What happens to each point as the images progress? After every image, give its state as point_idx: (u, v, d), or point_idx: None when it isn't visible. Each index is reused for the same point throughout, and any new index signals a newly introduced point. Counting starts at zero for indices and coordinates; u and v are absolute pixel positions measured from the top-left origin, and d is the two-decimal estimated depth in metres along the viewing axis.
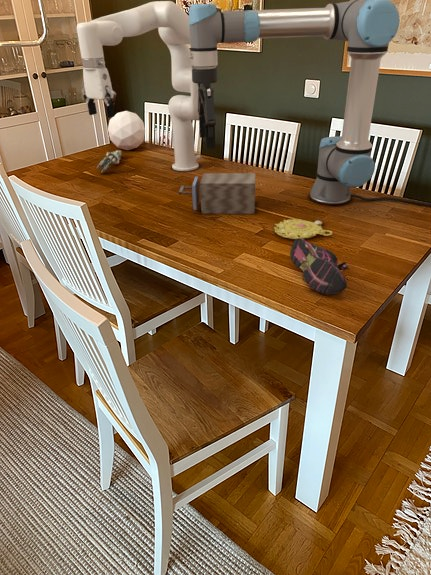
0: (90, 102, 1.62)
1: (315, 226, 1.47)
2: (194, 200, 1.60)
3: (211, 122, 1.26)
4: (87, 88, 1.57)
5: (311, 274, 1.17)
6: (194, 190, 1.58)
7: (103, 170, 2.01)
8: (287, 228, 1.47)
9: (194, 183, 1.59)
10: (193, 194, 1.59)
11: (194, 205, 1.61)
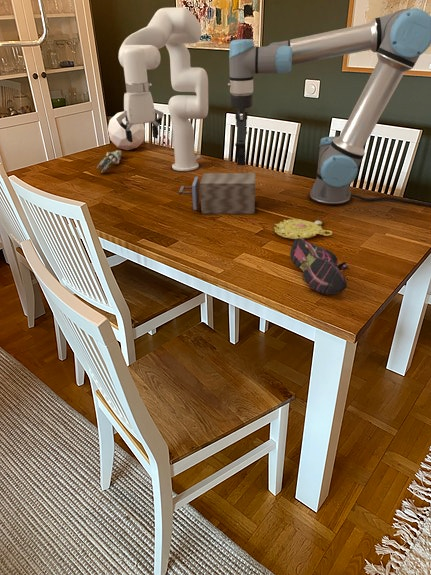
0: None
1: (315, 226, 1.47)
2: (194, 200, 1.60)
3: (241, 143, 1.42)
4: (134, 114, 1.52)
5: (311, 274, 1.17)
6: (194, 190, 1.58)
7: (103, 170, 2.01)
8: (287, 228, 1.47)
9: (194, 183, 1.59)
10: (193, 194, 1.59)
11: (194, 205, 1.61)
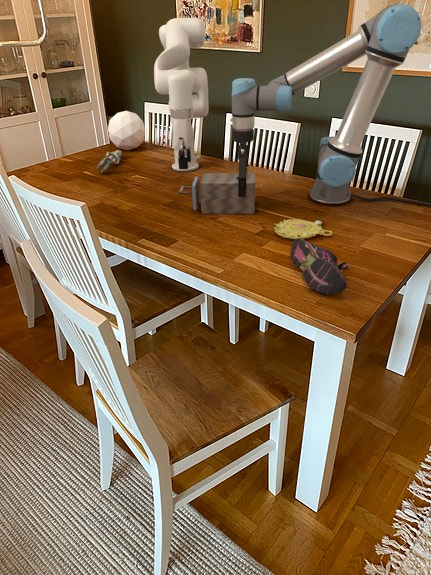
0: None
1: (315, 226, 1.47)
2: (194, 200, 1.60)
3: (242, 177, 1.50)
4: (188, 139, 1.51)
5: (311, 274, 1.17)
6: (194, 190, 1.58)
7: (103, 170, 2.01)
8: (287, 228, 1.47)
9: (194, 183, 1.59)
10: (193, 194, 1.59)
11: (194, 205, 1.61)
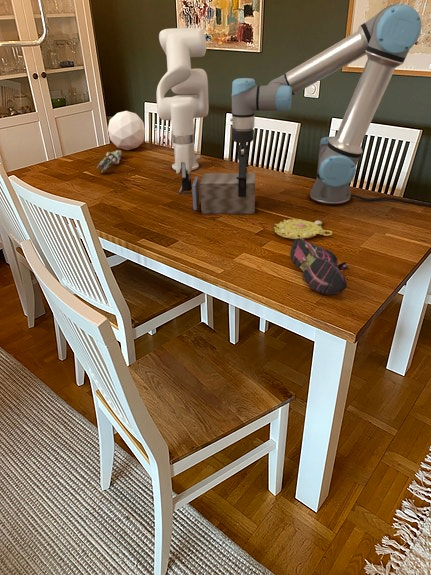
0: None
1: (315, 226, 1.47)
2: (194, 200, 1.60)
3: (242, 177, 1.50)
4: (190, 163, 1.55)
5: (311, 274, 1.17)
6: (194, 190, 1.58)
7: (103, 170, 2.01)
8: (287, 228, 1.47)
9: (194, 183, 1.59)
10: (193, 194, 1.59)
11: (194, 205, 1.61)
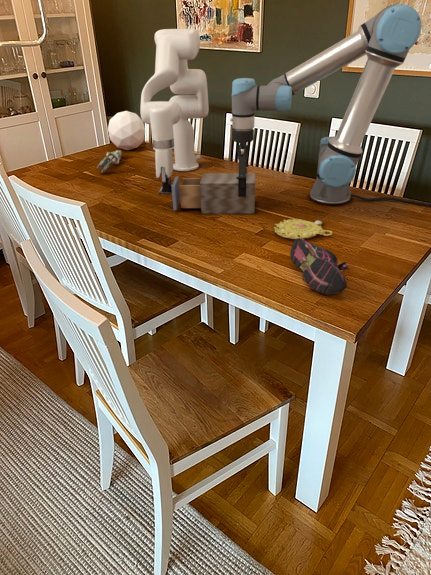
0: None
1: (315, 226, 1.47)
2: (174, 200, 1.61)
3: (241, 177, 1.50)
4: (170, 167, 1.57)
5: (311, 274, 1.17)
6: (174, 190, 1.59)
7: (103, 170, 2.01)
8: (287, 228, 1.47)
9: (174, 183, 1.60)
10: (173, 194, 1.60)
11: (174, 205, 1.62)
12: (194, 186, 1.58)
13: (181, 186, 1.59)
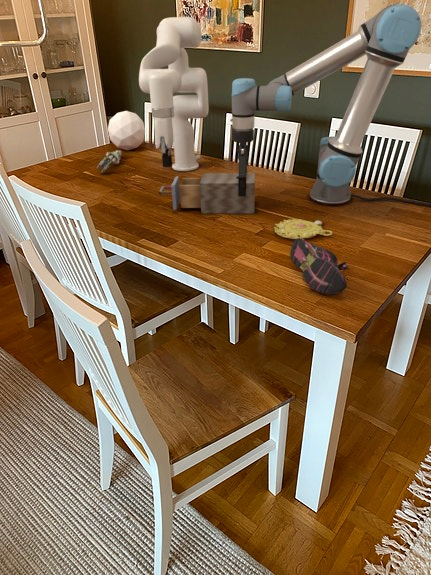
0: None
1: (315, 226, 1.47)
2: (174, 200, 1.61)
3: (242, 176, 1.49)
4: (170, 138, 1.51)
5: (311, 274, 1.17)
6: (174, 190, 1.59)
7: (103, 170, 2.01)
8: (287, 228, 1.47)
9: (174, 183, 1.60)
10: (173, 194, 1.60)
11: (174, 205, 1.62)
12: (194, 186, 1.58)
13: (181, 186, 1.59)
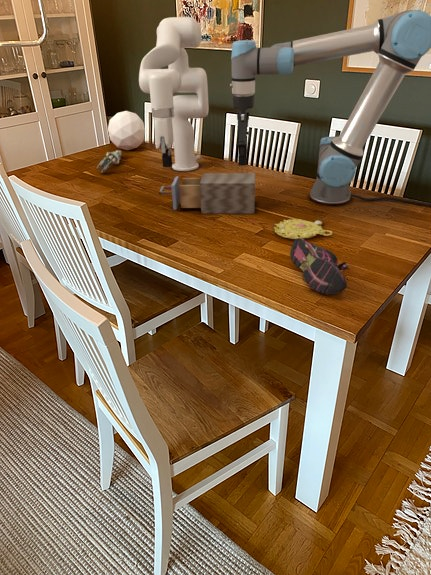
0: None
1: (315, 226, 1.47)
2: (174, 200, 1.61)
3: (242, 143, 1.43)
4: (170, 138, 1.51)
5: (311, 274, 1.17)
6: (174, 190, 1.59)
7: (103, 170, 2.01)
8: (287, 228, 1.47)
9: (174, 183, 1.60)
10: (173, 194, 1.60)
11: (174, 205, 1.62)
12: (194, 186, 1.58)
13: (181, 186, 1.59)
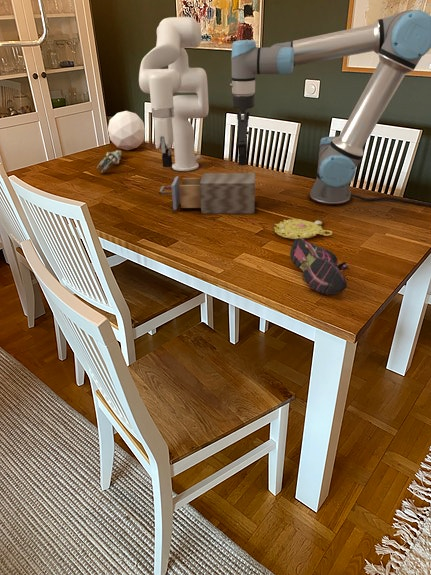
0: None
1: (315, 226, 1.47)
2: (174, 200, 1.61)
3: (242, 143, 1.43)
4: (170, 138, 1.51)
5: (311, 274, 1.17)
6: (174, 190, 1.59)
7: (103, 170, 2.01)
8: (287, 228, 1.47)
9: (174, 183, 1.60)
10: (173, 194, 1.60)
11: (174, 205, 1.62)
12: (194, 186, 1.58)
13: (181, 186, 1.59)
